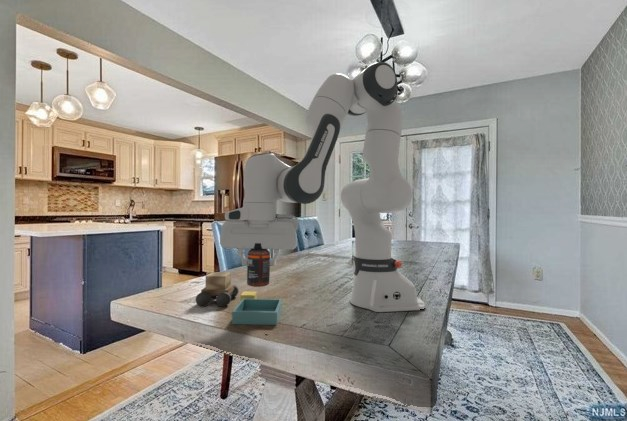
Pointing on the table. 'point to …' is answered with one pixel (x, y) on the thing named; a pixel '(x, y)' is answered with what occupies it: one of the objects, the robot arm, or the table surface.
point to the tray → (257, 311)
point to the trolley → (217, 289)
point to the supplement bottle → (258, 266)
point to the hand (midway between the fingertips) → (258, 265)
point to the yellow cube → (249, 295)
